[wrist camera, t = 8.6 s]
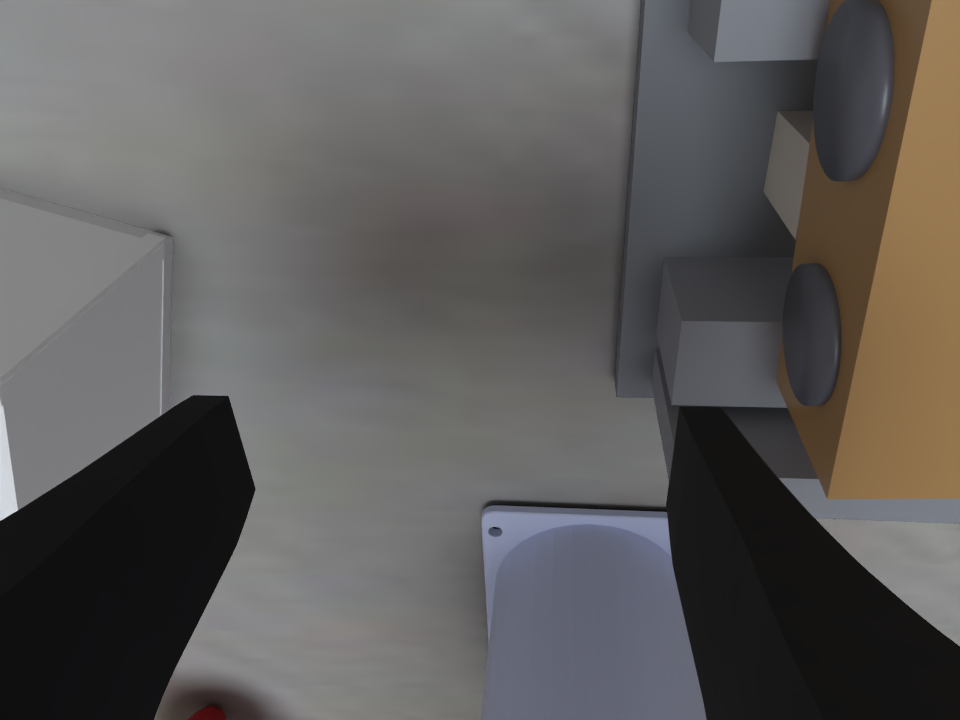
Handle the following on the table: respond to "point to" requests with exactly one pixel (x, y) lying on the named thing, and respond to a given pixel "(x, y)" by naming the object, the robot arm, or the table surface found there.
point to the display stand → (725, 227)
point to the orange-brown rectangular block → (880, 257)
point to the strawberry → (209, 714)
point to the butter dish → (76, 340)
